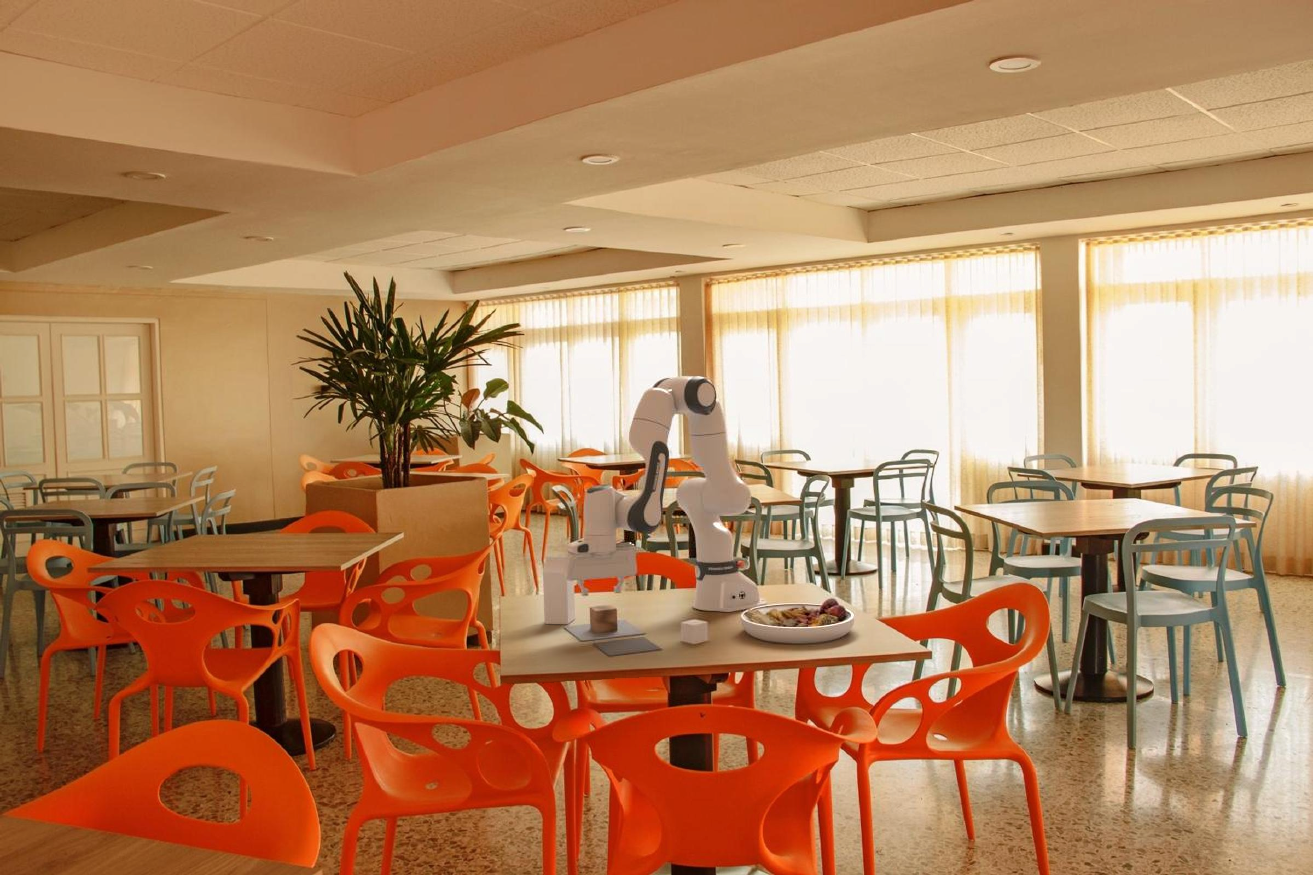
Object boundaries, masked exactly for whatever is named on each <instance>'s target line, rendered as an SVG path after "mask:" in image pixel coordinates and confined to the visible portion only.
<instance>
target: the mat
mask: <svg viewBox="0 0 1313 875" xmlns="http://www.w3.org/2000/svg"><path fill="white" fill-rule="evenodd" d="M592 644H593V646H594V647H596V648H597V649H599V650H600V651H601V652H603V653H604V654H605V655H607V656H608V657H616V656H617V657H618V656H624V655H632V654H641V653H648V652H656V651H657V652H658V651H662V650H663V648H661V647H660V646H658V645H657V644H655V643H654V642H652V641H650V640H649V639H647V638H646V637H645V636H641V637H633V638H632V637H631V638H624V639H617V640H616V639H615V640H607V641H600V642H599V641H598V642H592Z"/></svg>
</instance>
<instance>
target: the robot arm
mask: <svg viewBox="0 0 1313 875" xmlns="http://www.w3.org/2000/svg"><path fill="white" fill-rule="evenodd" d="M675 415H685V416H686V418H687V419H688V438H689V439H688V440H689V449H690V458H691V461H692V462H693V463H694V465H696V466H697V467H698V468H700V470H701V471H702V473H703V475H704V477H693V478H689V479H684V480H682V481H681V482H680V483H679V484H678V486H677V488H676V492H675V499H676V502H677V505H678V507H679V508H681V510H682V511H683V512H685V514H686V516H687V517H688V519H689V521H690V524H691V527H692V528H693V532H694V537H695V548H696V560H695V565H694V568H695V569H694V570H695V571H694V573H695V578H696V585H695V595H694V599H693V600H694V601H693V604H692V607H693V608H694V609H695V610H696V609H697V610H698V611H699V610H701V611H707V612H708V611H709V612H723V613H731V612H736V611H742V610H743V611H744V610H749V609H752V608H755V607H760V606H766V605H768V602H767V600H766V599H765V598H763V597H760V592H759V589H758V586H757V584H756V583H755V582H754V581H753V580H752V579H751V578H749V577H748V576H747V575H745V574H744V573H743V572H741V571H740V569H744V568H745V566H746V563H745V561H742V560H737V559H735V558H734V545H733V541H734V540H733V533H731V531H730V530H729V529H728V528H727V527H726V526H724V525H725V524H723V522H722V520H721V518H720V516H728V517H729V516H736V515H741V514H744V513H745V512H746V511H747V510H748V509H749V508H750V505H751V502H752V492H751V490H750V487H749V485H748V484H747V483H746V482H745V481H743V480H742V479H741V478H740V477H739V476H738V474H737V472H736V470H735V469H734V467H733V464H732V462H731V460H730V455H729V451H728V449H729V448H728V443H727V433H726V432H727V431H726V424H725V423H726V422H725V417H724V414H723V410H722V406H721V403H720V401H719V400H718V399H717V390H716V388H715V385H714V384H713V382H712V381H711V380H710V379H709V378H706V377H704V376H700V375H699V376H698V375H696V376H691V375H681V376H676V377H666V378H665V377H664V378H662V379H660V380H658V381H657V382H656V383H654V385H653V386H652V387H651V388H648V389H646V390H645V391H644V392H643V395H642V396H641V398H640V401H639V402H638V403H637V406H636V409H635V412H634V414H633V418H632V420H631V424H630V427H629V432H628V441H629V444H630V446H631V447H632V449H633V450H634V452H635V453H637V454H638V455H639V456H641V457H642V458H643V460H644V462H645V469H644V470H645V472H644V476H643V482H642V488H641V492H640V494H639V495H638V496H635V495H634V496H633V495H627V494H626V493H623V492H621V491H619V490H617V489H616V488H614V487H613V485H611V484H598V485H594V486H592V487H589V488H588V489H587V490H586V491H585V494H584V497H583V498H584V499H583V500H584V501H583V520H584V524H585V526H584V527H585V528H584V531H583V537H582V538H580V539H578V540H574V541H572V542H568V544H567V551H568V553H567V554H566V555H565V557H566V558H565V564H564V576H565V578H566V579H567V580H569V581H573V580H574V581H576V584H577V585H578V587H579V588H580V590H581V593H580V594H581V596H582V597H588V596H589V589H588V588H586V587H585V586H584V584H585V580H595V579H596V580H597V579H608V578H617V580H618V583H617V585H614V586H613V593H614V594H621V593H622V586H623V585H624V583H625V582H626V578H625V577H634V576H636V575H637V573H638V567H637V559H636V556H637V547H636V545H635V544H634V543H632V542H628V541H627V542H617V529H619V530H623V531H624V530H625V531H631V532H635V533H638V534H642V535H649V534H650V535H651V534H652V533H654V532H655V531H657V530H658V528H659V527H660V525H661V523H662V521H663V515H664V507H663V506H664V502H663V501H664V494H665V487H666V482H667V475H668V470H669V465H670V464H669V462H670V450H669V447H668V439H669V435H670V431H671V427H672V422H673V418H674V416H675ZM739 568H740V569H739Z"/></svg>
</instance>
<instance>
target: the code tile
mask: <svg viewBox="0 0 1313 875" xmlns="http://www.w3.org/2000/svg"><path fill="white" fill-rule="evenodd" d="M563 628H564V630H566V631H567V632H568V633H569V634H571V635H572V636H574V637H575V638H576V639H577V640H579V641H580V642H581V643H582V642H591V641H592V642H593V641H598V640H599V641H600V640H607V639H617V638H624V637H631V636H633V637H634V636H642V635H646V632H645V631H643V630H641V629H640V628H638V627H637V626H635V625H633V624H632V623H630V622H629V621H627V620H626V619H621V620H617V628H618V631H609V632H600V633H596V632H595V631H593V630H592V629H590V623H586V624H578V625H577V624H576V625H568V626H567V625H565V626H564V627H563Z"/></svg>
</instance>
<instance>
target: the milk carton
mask: <svg viewBox="0 0 1313 875" xmlns="http://www.w3.org/2000/svg"><path fill="white" fill-rule="evenodd" d="M565 558H566V556H545V562H544V565H543V566H544V567H543V570H542V588H543V614H544V615H543V616H544V624H545V625H546V624H547V625H569V624H570V623H572V621H574V620H575V619H576V607H575V606H576V605H575V580H573V581H569V580H567V579H566V578H565V576H564V564H565Z"/></svg>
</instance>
